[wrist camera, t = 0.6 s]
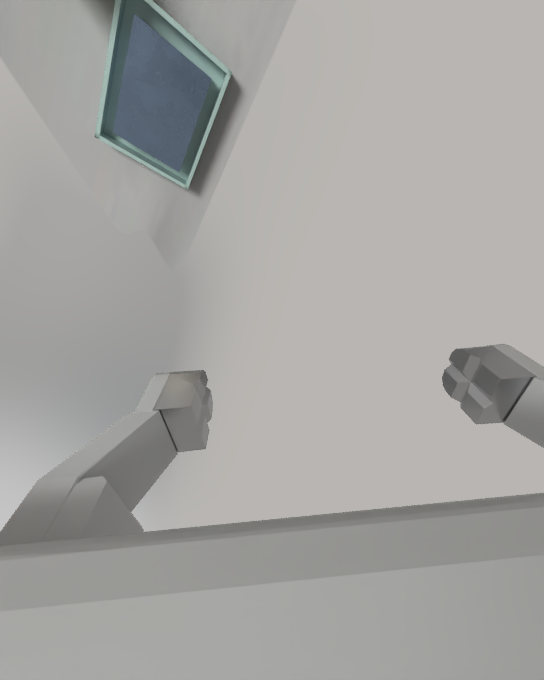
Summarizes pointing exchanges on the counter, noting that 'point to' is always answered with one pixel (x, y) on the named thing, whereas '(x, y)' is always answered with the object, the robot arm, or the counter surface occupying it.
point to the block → (159, 96)
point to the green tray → (162, 23)
